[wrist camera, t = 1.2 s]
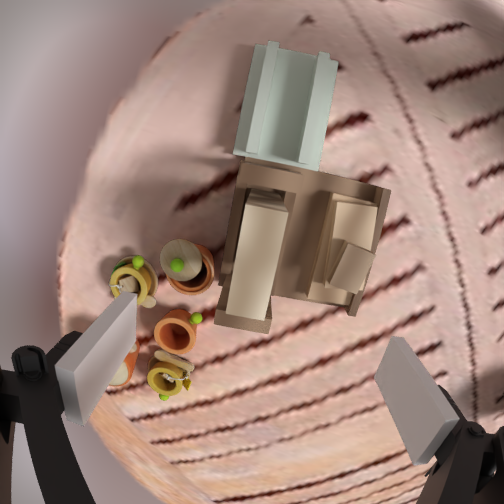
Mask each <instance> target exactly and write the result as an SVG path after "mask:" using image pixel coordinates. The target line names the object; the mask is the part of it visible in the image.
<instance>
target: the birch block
mask: <svg viewBox="0 0 504 504" xmlns="http://www.w3.org/2000/svg"><path fill="white" fill-rule="evenodd" d="M287 218H288V211H287V209H286V207H285V205H284V203H283V201H282V198H281V196H280V194H278V193H273V192H268V191H263V190H258V189H253V188H252V189H251V192H250V194H249V197H248V199H247V202H246V205H245V210H244V215H243V221H242V226H241V231H240V237H239V242H238V248H237V253H236V259H235V264H234V269H233V275H232V280H231V286H230V292H229V297H228V303H227V308H226V314H230V315H235V316H240V317H246V318H251V319H257V320H262V321H264V319H265V315H266V311H267V307H268V302H269V298H270V294H271V289H272V285H273V281H274V276H275V272H276V267H277V263H278V259H279V254H280V250H281V245H282V241H283V236H284V231H285V227H286V222H287Z"/></svg>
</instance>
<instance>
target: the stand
mask: <svg viewBox="0 0 504 504" xmlns="http://www.w3.org/2000/svg"><path fill="white" fill-rule="evenodd" d="M279 43H280V42H275V41H268V45H267V46H266V45H260V44H255V48H254V53H253V57H252V62H251V66H250V71H249V76H248V80H247V85H246V90H245V95H244V100H243V104H242V109H241V114H240V119H239V124H238V129H237V134H236V140H235V145H234V150H233V154H234V155H240V156H245V157H251V158H256V159H262V160H267V161H272V162H277V163H282V164H286V165H291V166H296V167H300V168H305V169H309V170H314V171H318V169H319V164H320V159H321V154H322V149H323V144H324V139H325V134H326V129H327V124H328V118H329V113H330V108H331V102H332V97H333V91H334V86H335V80H336V74H337V68H338V61H335V60H331V59H329V58H330V53H326V52H322V51H319V53H318V55H317V56H315V55H311V54H306V53H302V52H297V51H293V50H288V49H283V48H279Z"/></svg>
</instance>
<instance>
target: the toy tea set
mask: <svg viewBox="0 0 504 504" xmlns="http://www.w3.org/2000/svg"><path fill="white" fill-rule="evenodd" d="M160 264H161V267H162V269H163V271H164V272H165V273H166V276H167V279H168V281H169V283H170V285H171V286H172V287H173V288H174V289H175V290H177V291H178V292H180V293H182V294H186V295H197V294H200V293H203V292H204V291H206V290H207V289H208V288H209V287H210V286H211V284H212V282H213V279H214V259H213V256H212V254H211V252H210V251H209V250H208V249H207V248H206V247H204V246H202V245H198V244H193V243H192V242H190V241H188V240H185V239H175V240H172V241H170V242H168V243H167V244H166V245H165V246H164V247H163V248H162V250H161V253H160ZM109 286H110V287H111V290H112V293H113V295H114V296H115V297H114V300H115V299H116V298H117V297H118V296H119V295H120V294H121V293H122V292H123V291H126V292H130V293H134V294H137V305H142V306H143V307H146V308H152V307H154V306H155V305H156V299H155V298H154V297H153V296H154V295H155V293H156V291H157V288H158V277H157V274H156V272H155V270H154V268H153V267H152V265H151V264H150V263H149V262H148V261H146V260H145V259H144V258H143V257H142V256H140V255H136V256H128V257H125V258H123V259H121V260H120V261H119V262H118V263H117V264H116V266H115V268H114V270H113V272H112V275H111V279H110V281H109ZM201 321H202V316H201V314H200V313H198V312H194V313H193V314H192V315H191V314H190V313H189V312H187V311H185V310H182V309H175V310H172V311H170V312H169V313H167V314H166V315H165V316H164V317H163V318H162V319H161V320H160V321H159V322H158V323H157V324H156V326H155V328H154V337H155V340H156V342H157V343H158V345H159V346H160V347H161V348H162V349H164V350H165V351H164V350H156V351H155V353H154V356H153V357H152V358H151V359H150V360H149V362H148V374H147V381H148V384H149V385H150V387H151V388H152V389H153V390H154V391H156V392H157V393H159V397H160V399H161V400H163V401H165V400H167V399H168V398H169V396H172V395H176V394H178V393H179V392H180V391H181V389H182V386H184V387H185V388H186V390H187V391H188V390H189V387H190V384H191V381H190V380H189V377H190V371H193V369H194V364H192V363H190V362H188V361H185V360H182V359H181V358H179V357H178V356H176V355H174V354H184V353H187V352H189V351H190V350H191V349H192V348H193V347H194V345H195V341H196V328H197V324H198V323H200V322H201ZM139 349H140V347H139V342H138V340H137V338H136V342H135V343H134V345H133V346H132V348H131V349H130V351H129V353H128V354H127V356H126V357H125V359H124V361H123V362H122V364H121V365H120V367H119V369H118V370H117V372H116V374H115V375H114V377H113V378H112V380H111V382H110V383H109V385H110V386H122V385H124V384H126V383H127V382H128V381H129V380H130V379H131V376H132V373H133V370H134V366H135V363H136V360H137V357H138V354H139ZM166 351H167V352H166ZM168 352H169V353H168ZM170 353H172V354H170Z"/></svg>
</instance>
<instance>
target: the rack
mask: <svg viewBox="0 0 504 504" xmlns="http://www.w3.org/2000/svg"><path fill="white" fill-rule="evenodd" d="M252 188H253V189H258V190H263V191H268V192H273V193H278V194H280V196H281V198H282V201H283V203H284V205H285V207H286V209H287V211H288V218H287V222H286V227H285V231H284V236H283V241H282V245H281V250H280V254H279V259H278V263H277V267H276V272H275V276H274V281H273V285H272V289H271V294H270V298H269V302H268V307H267V311H266V315H265V319H264V321H262V320H257V319H251V318H246V317H240V316H235V315H230V314H226V308H227V303H228V297H229V292H230V286H231V280H232V275H233V269H234V264H235V259H236V253H237V248H238V242H239V237H240V231H241V226H242V221H243V215H244V210H245V205H246V202H247V199H248V197H249V194H250V192H251V189H252ZM390 194H391V190H389V189H385V188H381V187H378V186H374V185H370V184H366V183H363V182H359V181H355V180H351V179H347V178H343V177H339V176H335V175H331V174H327V173H322V172H318V171H314V170H309V169H305V168H300V167H296V166H291V165H286V164H282V163H277V162H272V161H267V160H262V159H256V158H251V157H245V161H244V160H240V165H239V171H238V176H237V181H236V187H235V192H234V197H233V203H232V208H231V214H230V220H229V225H228V231H227V236H226V242H225V248H224V254H223V260H222V266H221V271H220V277H219V283H218V285H219V286H223V288H222V291H221V295H220V298H219V301H218V305H217V308H216V313H215V319H214V324H216V325H221V326H226V327H231V328H237V329H242V330H248V331H253V332H259V333H265V334H268V333H269V329H270V325H271V321H272V311H271V295H272V296H274V295H275V296H281V297H287V298H292V299H298V300H304V301H309V302H315V303H321V304H327V305H333V306H340V307H344V308H345V310H346V312H347V314H348V316H356V313H357V310H358V307H359V304H360V301H361V298H362V295H363V292H364V289H365V286H366V283H367V279H368V276H369V273H370V270H371V266H372V263H373V260H374V258H375V256H376V255H375V252H376V249H377V245H378V242H379V238H380V234H381V230H382V227H383V223H384V219H385V215H386V211H387V207H388V202H389V198H390Z"/></svg>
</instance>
